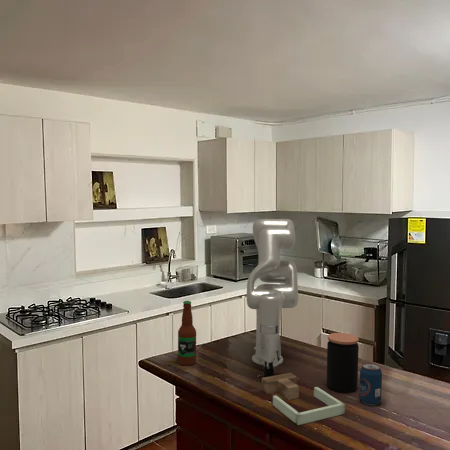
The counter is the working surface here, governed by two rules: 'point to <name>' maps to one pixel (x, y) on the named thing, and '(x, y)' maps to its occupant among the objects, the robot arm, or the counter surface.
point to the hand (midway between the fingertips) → (268, 377)
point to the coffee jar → (342, 362)
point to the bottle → (187, 337)
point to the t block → (282, 385)
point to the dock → (316, 414)
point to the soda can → (370, 384)
